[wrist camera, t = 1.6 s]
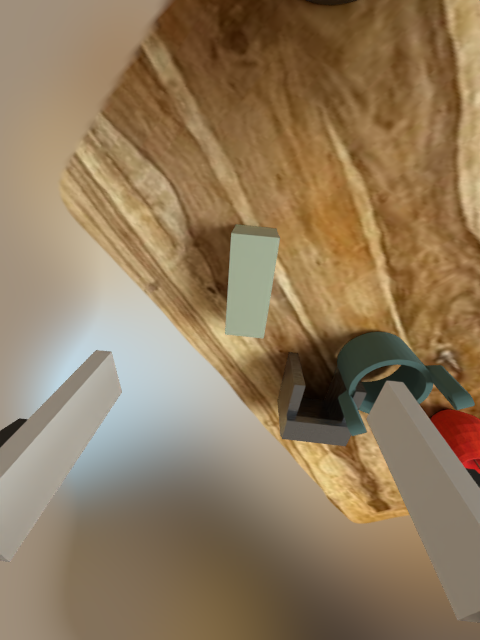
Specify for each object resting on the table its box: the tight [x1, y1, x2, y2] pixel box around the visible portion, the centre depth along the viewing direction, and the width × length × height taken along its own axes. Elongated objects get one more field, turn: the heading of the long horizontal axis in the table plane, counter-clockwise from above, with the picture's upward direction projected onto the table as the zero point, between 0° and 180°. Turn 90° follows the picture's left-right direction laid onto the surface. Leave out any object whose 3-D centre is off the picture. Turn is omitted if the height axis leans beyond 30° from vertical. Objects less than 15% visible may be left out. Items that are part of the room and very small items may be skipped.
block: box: [225, 224, 280, 338], centre depth 24 cm, size 10×4×5 cm, turn 175°
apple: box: [430, 409, 480, 474], centre depth 32 cm, size 8×8×7 cm
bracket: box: [337, 332, 474, 436], centre depth 26 cm, size 9×9×9 cm
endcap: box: [278, 352, 367, 446], centre depth 30 cm, size 9×8×7 cm
